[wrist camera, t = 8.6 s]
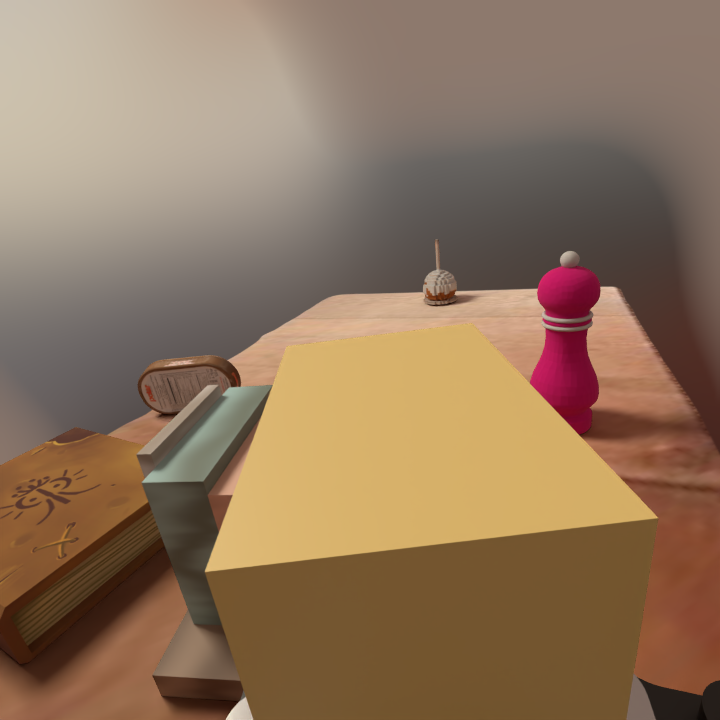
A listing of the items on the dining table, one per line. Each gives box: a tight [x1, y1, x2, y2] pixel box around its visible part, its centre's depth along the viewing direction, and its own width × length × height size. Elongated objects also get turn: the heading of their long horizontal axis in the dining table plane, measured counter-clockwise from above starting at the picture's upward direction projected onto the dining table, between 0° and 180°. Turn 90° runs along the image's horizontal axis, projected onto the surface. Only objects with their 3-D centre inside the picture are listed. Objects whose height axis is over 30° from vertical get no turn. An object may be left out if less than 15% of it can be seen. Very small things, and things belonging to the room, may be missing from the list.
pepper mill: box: [530, 251, 600, 435], centre depth 49 cm, size 7×7×20 cm
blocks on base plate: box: [136, 385, 273, 701], centre depth 33 cm, size 24×20×15 cm
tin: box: [138, 355, 241, 414], centre depth 67 cm, size 15×3×8 cm, turn 89°
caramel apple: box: [423, 240, 457, 305], centre depth 106 cm, size 8×8×15 cm
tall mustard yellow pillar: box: [205, 323, 658, 720], centre depth 9 cm, size 4×6×13 cm, turn 2°
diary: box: [0, 427, 165, 664], centre depth 44 cm, size 23×19×6 cm
